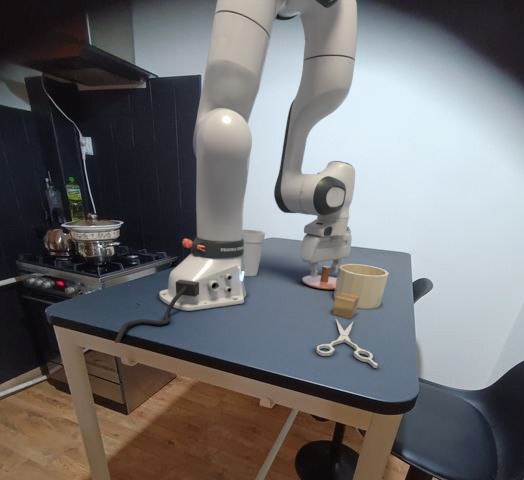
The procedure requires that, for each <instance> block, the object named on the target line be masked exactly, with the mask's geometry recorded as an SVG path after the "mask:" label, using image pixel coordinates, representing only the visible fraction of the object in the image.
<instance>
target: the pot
mask: <svg viewBox="0 0 524 480" xmlns="http://www.w3.org/2000/svg"><path fill="white" fill-rule="evenodd" d="M389 275H390V273H389V272H388V271H387V270H386V269H383V268H381V267H378V266H377V267H376V266H373V265H367V264H359V263H344V264H341V265H339V266H338V268H337V275H336V278H337V280H336V286H335V289H334V291H333V299H334V300H335V298H336V296H338V295H339V294H341V293H345V294H350V295H354V296H358V297H359V300H358V305H357V309H363V310H364V309H365V310H371V309H378V308H379V307H381V305H382V301H383V297H384V293H385V290H386V286H387V282H388V279H389Z"/></svg>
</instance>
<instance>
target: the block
mask: <svg viewBox="0 0 524 480" xmlns="http://www.w3.org/2000/svg"><path fill="white" fill-rule="evenodd" d="M358 300H359V297H358V296H354V295H350V294H345V293H341V294H339V295H338V296H336V298H335V299H334V304H333V308H332V309H333V310H332V315H335V316H338V317H341V318H344V319H349V320H350V319H351V318H352V317H354V316H355V315H356V314H357V309H358V308H357V305H358Z"/></svg>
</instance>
